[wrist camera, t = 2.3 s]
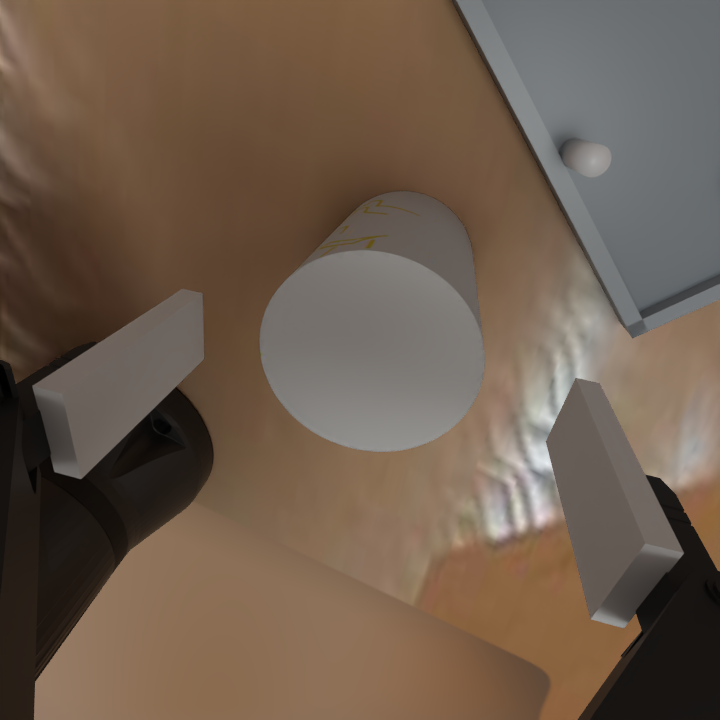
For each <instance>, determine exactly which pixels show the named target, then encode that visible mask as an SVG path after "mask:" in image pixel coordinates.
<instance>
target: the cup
mask: <svg viewBox="0 0 720 720" xmlns="http://www.w3.org/2000/svg"><path fill="white" fill-rule="evenodd" d="M260 355H261V361H262V365H263V369H264V372H265V375H266V377H267V380H268V382H269V384H270V386H271V388H272V390H273V392H274V393H275V395H276V396H277V398H278V399H279V401H280V402H281V403H282V405H283V406H284V407H285V408H286V409H287V411H288V412H289V413H290V414H291V415H292V416H293V417H294V418H295V419H297V420H298V421H299V422H300V423H301V424H303V425H304V426H305V427H307V428H308V429H310V430H311V431H313V432H314V433H316V434H318V435H319V436H321V437H323V438H325V439H327V440H329V441H332V442H334V443H337V444H340V445H343V446H346V447H349V448H354V449H358V450H365V451H375V452H389V451H399V450H405V449H410V448H414V447H417V446H420V445H423V444H425V443H428V442H430V441H432V440H434V439H436V438H438V437H440V436H441V435H443V434H444V433H446V432H447V431H449V430H450V429H451V428H452V427H454V426H455V425H456V424H457V423H458V422H459V421H460V420H461V419H462V418H463V417H464V416H465V414H466V413H467V412H468V410H469V409H470V407H471V406H472V404H473V403H474V401H475V399H476V397H477V394H478V392H479V390H480V386H481V383H482V379H483V374H484V366H485V354H484V344H483V336H482V327H481V319H480V311H479V302H478V294H477V286H476V278H475V269H474V261H473V253H472V246H471V242H470V239H469V236H468V234H467V231H466V229H465V227H464V226H463V224H462V223H461V221H460V220H459V218H458V217H457V216H456V215H455V214H454V213H453V211H451V210H450V209H449V208H448V207H447V206H446V205H444V204H443V203H441V202H440V201H438V200H436V199H434V198H432V197H430V196H427V195H424V194H421V193H417V192H410V191H396V192H389V193H385V194H381V195H378V196H376V197H374V198H371V199H369V200H368V201H366V202H364V203H363V204H361V205H360V206H359V207H358V208H357V209H355V210H354V211H353V212H352V213H351V214H350V215H349V216H348V217H347V218H346V219H345V220H344V221H343V222H342V223H341V225H340V226H339V227H338V228H337V229H336V230H335V231H334V232H333V233H332V234H331V235H330V236H329V237H328V238H327V239H326V240H325V241H324V242H323V243H322V244H321V245H320V246H319V247H318V248H317V249H316V250H315V251H314V252H313V253H312V254H311V255H310V256H309V257H308V258H307V259H306V260H305V261H304V262H303V263H302V264H301V265H300V266H299V267H298V268H297V269H296V270H295V271H294V272H293V273H292V274H291V275H290V276H289V277H288V278H287V279H286V280H285V281H284V282H283V284H282V285H281V286H280V287H279V288H278V289H277V291H276V292H275V293H274V295H273V297H272V298H271V300H270V302H269V304H268V306H267V308H266V311H265V313H264V316H263V320H262V324H261V329H260Z"/></svg>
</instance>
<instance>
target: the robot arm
mask: <svg viewBox="0 0 720 720" xmlns="http://www.w3.org/2000/svg"><path fill="white" fill-rule="evenodd" d="M203 360H204V327H203V293H199V292H195V291H191V290H186V289H181V290H180V291H178V292H177V293H175V294H174V295H172V296H170V297H169V298H167V299H166V300H164V301H163V302H161V303H160V304H158V305H157V306H155V307H153V308H152V309H150V310H149V311H147V312H146V313H144V314H143V315H141V316H140V317H138V318H137V319H135V320H133V321H132V322H130V323H129V324H127V325H126V326H124V327H123V328H121V329H120V330H118V331H116V332H115V333H113V334H112V335H110V336H109V337H107V338H106V339H104V340H103V341H101V342H99V343H97V342H91V343H88V344H85V345H82V346H79V347H76V348H74V349H72V350H71V351H69V352H67V353H66V354H64V355H63V356H61V358H60V359H59V358H58V359H56V360H55V361H53V362H51V363H50V364H49V366H47V365H46V366H45V367H43V368H42V369H40V370H38V371H37V372H35V373H34V374H32V375H30V376H29V377H27V378H26V379H24V380H22V381H21V382H19V383H17V384H15V380H14V376H13V373H12V369H11V367H10V364H9V363H7V362H5V361H3V360H0V720H34V697H35V696H34V695H35V681H36V680H37V678H38V677H39V676H40V674H41V673H42V671H43V670H44V668H45V667H46V666H47V664H48V663H49V662H50V660H51V659H52V657H53V656H54V654H55V653H56V652H57V650H58V649H59V648H60V646H61V645H62V643H63V642H64V641H65V639H66V638H67V636H68V635H69V634H70V632H71V631H72V629H73V628H74V627H75V625H76V624H77V622H78V621H79V620H80V618H81V617H82V615H83V614H84V612H85V611H86V610H87V608H88V607H89V606H90V604H91V603H92V601H93V600H94V599H95V597H96V596H97V594H98V593H99V592H100V590H101V589H102V587H103V586H104V585H105V583H106V582H107V580H108V579H109V578H110V576H111V574H112V573H113V572H114V570H115V569H116V568H117V566H118V565H119V564H120V562H121V561H122V560H123V558H124V557H125V556H126V554H127V553H128V552H129V551H130V550H131V549H132V548H133V547H135V546H136V545H138V544H139V543H140V542H142V541H143V540H144V539H146V538H147V537H148V536H150V535H151V534H152V533H153V532H155V531H156V530H158V529H159V528H160V527H162V526H163V525H164V524H166V523H167V522H168V521H170V520H171V519H172V518H174V517H175V516H176V515H177V514H179V513H180V512H182V511H183V510H184V509H186V507H188V506H189V505H190V504H191V502H192V501H193V500H194V499H195V497H196V496H197V494H198V493H199V491H200V490H201V488H202V487H203V485H204V484H205V482H206V481H207V479H208V477H209V475H210V472H211V469H212V463H213V452H212V445H211V441H210V438H209V435H208V432H207V430H206V427H205V425H204V423H203V422H202V420H201V418H200V416H199V415H198V413H197V412H196V410H195V409H194V408H193V406H192V405H191V404H190V403H189V402H188V400H187V399H186V398H185V397H184V396H183V395H182V394H181V393H180V392H179V391H178V390H177V389H176V388H175V387H176V386H177V385H178V384H179V383H180V382H181V381H182V380H183V379H184V378H185V377H186V376H188V375H189V374H190V373H191V372H192V371H193V370H194V369H195V368H196V367H197V366H198V365H199V364H200V363H201V362H202V361H203ZM546 443H547V447H548V451H549V455H550V459H551V463H552V467H553V471H554V475H555V479H556V483H557V487H558V491H559V495H560V499H561V503H562V507H563V511H564V515H565V519H566V523H567V527H568V531H569V535H570V539H571V543H572V547H573V551H574V555H575V559H576V563H577V567H578V571H579V575H580V579H581V583H582V587H583V591H584V595H585V599H586V603H587V607H588V611H589V615H590V619H592V620H596V621H599V622H603V623H607V624H610V625H614V626H618V627H621V628H625V626H626V625H627V624H628V623H629V621H630V620H631V619H632V618H633V616H634V615H635V614H637V617H638V620H639V623H640V626H641V629H642V631H641V632H640V634H639V635H638V636H637V637H636V638H635V640H634V641H633V642H632V643H631V644H630V645H629V647H628V648H627V649H626V650H625V651H624V653H623V654H622V655H621V657H622V658H621V659H620V661H619V662H618V664H617V665H616V666H615V668H614V669H613V671H612V672H611V673H610V675H609V676H608V678H607V679H606V680H605V682H604V683H603V685H602V686H601V688H600V689H599V690H598V692H597V693H596V695H595V696H594V697H593V699H592V700H591V702H590V703H589V704H588V706H587V707H586V709H585V710H584V711H583V713H582V714H581V716H580V717H579V718H578V720H720V572H719V571H718V570H717V569H716V567H715V565H714V563H713V561H712V560H711V558H710V556H709V554H708V552H707V551H706V549H705V547H704V545H703V543H702V541H701V540H700V538H699V536H698V534H697V532H696V531H695V529H694V527H693V526H691V521H690V520H689V518H688V516H687V514H686V513H684V509H683V507H682V505H681V503H680V502H679V500H678V498H677V496H676V494H675V493H674V492H673V491H672V490H671V489H670V488H669V487H668V486H667V485H666V484H665V483H664V482H663V481H662V480H661V479H660V478H657V477H653V476H649V475H645V474H644V472H643V470H642V468H641V466H640V464H639V462H638V460H637V458H636V456H635V454H634V452H633V450H632V448H631V446H630V444H629V442H628V440H627V438H626V436H625V433H624V431H623V429H622V427H621V425H620V423H619V421H618V419H617V417H616V415H615V413H614V411H613V409H612V407H611V405H610V403H609V401H608V399H607V397H606V395H605V393H604V391H603V389H602V387H601V385H600V383H596V382H591V381H587V380H583V379H578V378H576V379H575V381H574V383H573V385H572V387H571V389H570V392H569V394H568V396H567V398H566V400H565V402H564V404H563V406H562V409H561V411H560V413H559V415H558V417H557V419H556V421H555V424H554V426H553V428H552V430H551V432H550V434H549V436H548V438H547V441H546Z"/></svg>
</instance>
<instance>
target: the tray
mask: <svg viewBox="0 0 720 720" xmlns="http://www.w3.org/2000/svg"><path fill="white" fill-rule="evenodd" d="M452 2H453V4H454V6H455V8H456V10H457V12H458V13H459V15H460V17H461V19H462V21H463V23H464V25H465V27H466V29H467V31H468V33H469V34H470V36H471V38H472V40H473V42H474V44H475V46H476V48H477V50H478V52H479V53H480V55H481V57H482V59H483V61H484V63H485V65H486V67H487V69H488V71H489V73H490V74H491V76H492V78H493V80H494V82H495V84H496V86H497V88H498V90H499V92H500V94H501V95H502V97H503V99H504V101H505V103H506V105H507V107H508V109H509V111H510V113H511V115H512V116H513V118H514V120H515V122H516V124H517V126H518V128H519V130H520V132H521V134H522V135H523V137H524V139H525V141H526V143H527V145H528V147H529V149H530V151H531V153H532V155H533V156H534V158H535V160H536V162H537V164H538V166H539V168H540V170H541V172H542V174H543V176H544V177H545V179H546V181H547V183H548V185H549V187H550V189H551V191H552V193H553V195H554V197H555V198H556V200H557V202H558V204H559V206H560V208H561V210H562V212H563V214H564V216H565V218H566V219H567V221H568V223H569V225H570V227H571V229H572V231H573V233H574V235H575V237H576V238H577V240H578V242H579V244H580V246H581V248H582V250H583V252H584V254H585V256H586V258H587V259H588V261H589V263H590V265H591V267H592V269H593V271H594V273H595V275H596V277H597V279H598V280H599V282H600V284H601V286H602V288H603V290H604V292H605V294H606V296H607V298H608V300H609V301H610V303H611V305H612V307H613V309H614V311H615V313H616V315H617V317H618V319H619V321H620V322H621V324H622V325H623V327H624V328H625V329H626V330H627V332H628V333H629V334H630V336H631V337H632V338H634V337H637V336H639V335H641V334H643V333H646V332H648V331H650V330H652V329H655V328H657V327H659V326H661V325H663V324H666V323H668V322H670V321H672V320H675V319H677V318H679V317H681V316H684V315H686V314H688V313H690V312H693V311H695V310H697V309H699V308H701V307H704V306H706V305H708V304H710V303H713V302H715V301H717V300H719V299H720V0H452Z"/></svg>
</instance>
